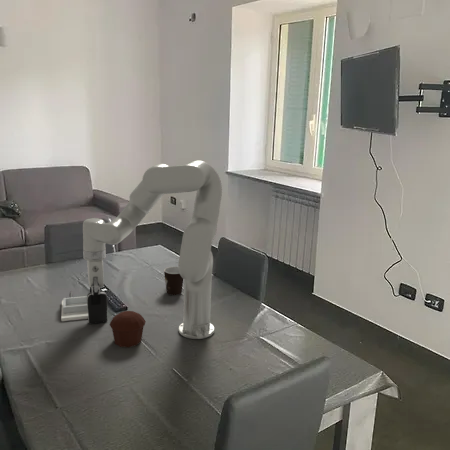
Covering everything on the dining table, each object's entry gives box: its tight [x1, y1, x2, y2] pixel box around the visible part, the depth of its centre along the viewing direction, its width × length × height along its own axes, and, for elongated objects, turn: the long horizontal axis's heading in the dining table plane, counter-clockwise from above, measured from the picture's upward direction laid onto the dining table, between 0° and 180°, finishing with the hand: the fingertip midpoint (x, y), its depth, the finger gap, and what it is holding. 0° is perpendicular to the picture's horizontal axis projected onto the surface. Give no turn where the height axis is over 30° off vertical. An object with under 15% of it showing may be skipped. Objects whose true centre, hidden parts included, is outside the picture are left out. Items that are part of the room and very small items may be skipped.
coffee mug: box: [163, 266, 184, 296], centre depth 195 cm, size 12×9×10 cm
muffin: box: [109, 310, 146, 348], centre depth 153 cm, size 12×11×10 cm
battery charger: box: [86, 290, 108, 325], centre depth 166 cm, size 7×4×11 cm, turn 112°
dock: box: [60, 290, 88, 322], centre depth 180 cm, size 26×13×4 cm, turn 18°
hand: (95, 298), depth 165 cm, fingers open, 9 cm apart
